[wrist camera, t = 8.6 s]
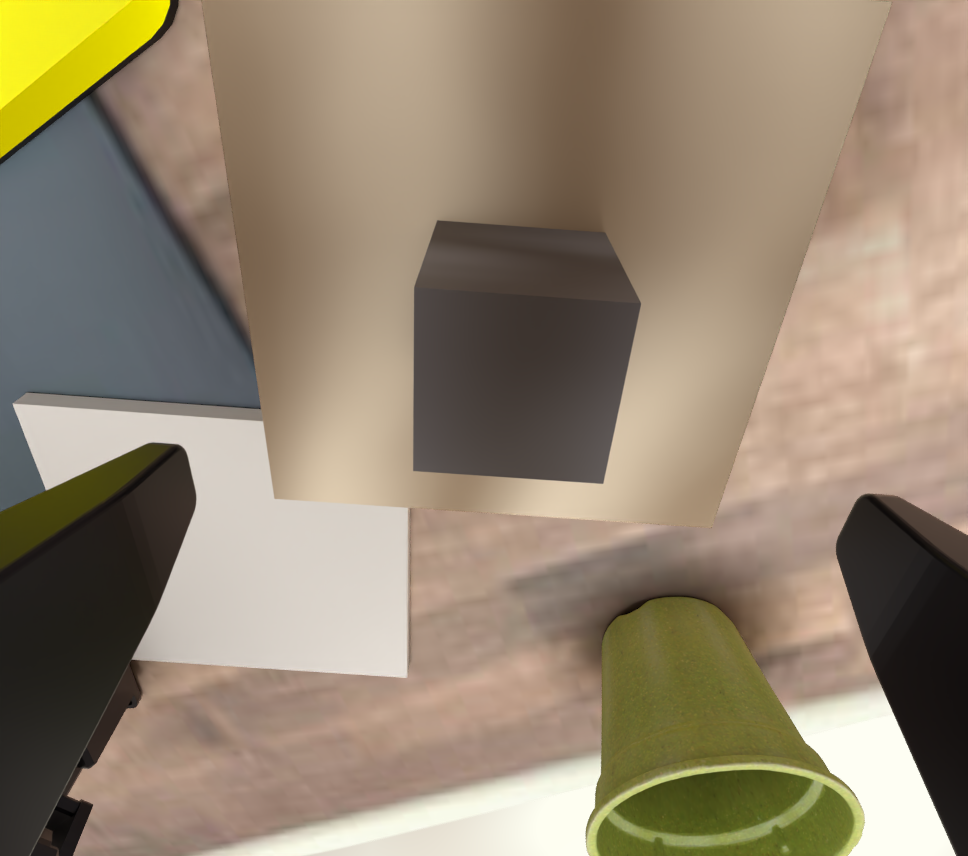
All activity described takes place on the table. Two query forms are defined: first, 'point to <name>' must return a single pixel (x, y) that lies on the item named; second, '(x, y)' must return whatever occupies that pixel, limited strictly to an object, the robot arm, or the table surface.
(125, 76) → the table surface
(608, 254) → the lid
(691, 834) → the plant pot
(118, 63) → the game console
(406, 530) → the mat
